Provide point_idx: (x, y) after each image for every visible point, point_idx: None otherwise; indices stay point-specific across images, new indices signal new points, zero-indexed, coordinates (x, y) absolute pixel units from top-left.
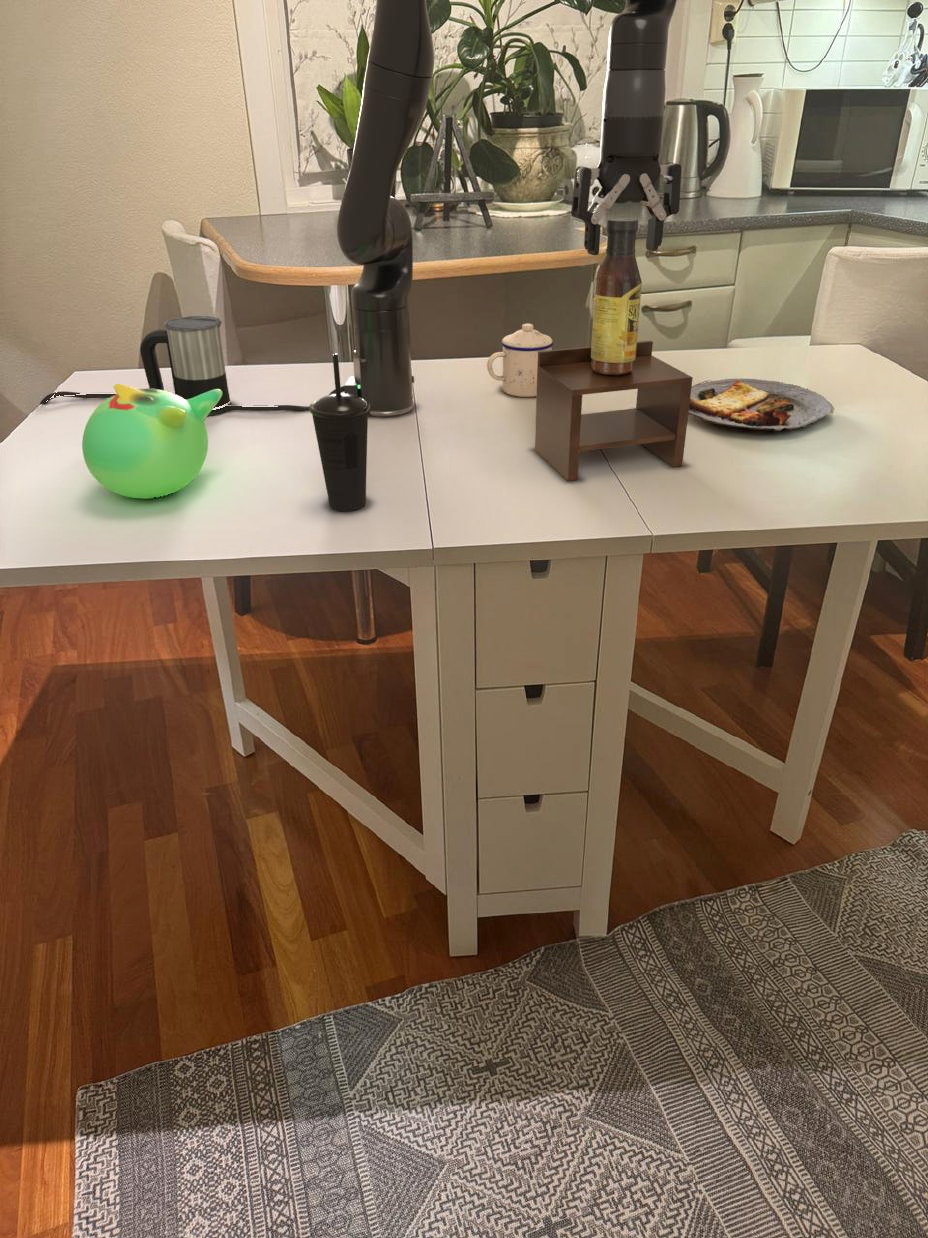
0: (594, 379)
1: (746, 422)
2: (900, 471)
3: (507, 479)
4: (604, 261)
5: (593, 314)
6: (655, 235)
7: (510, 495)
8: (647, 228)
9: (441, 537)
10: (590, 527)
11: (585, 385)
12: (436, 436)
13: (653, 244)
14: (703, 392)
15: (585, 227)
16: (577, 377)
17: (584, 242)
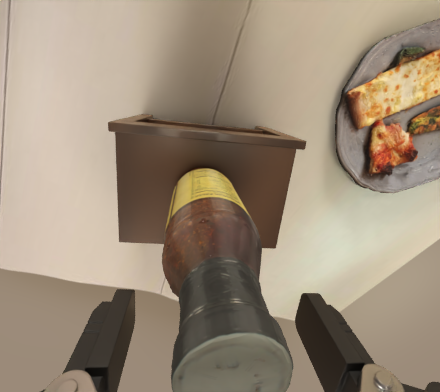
0: (164, 215)
1: (368, 154)
2: (382, 270)
3: (88, 175)
4: (176, 274)
5: (170, 209)
6: (312, 361)
7: (81, 208)
8: (330, 335)
9: (4, 257)
10: (123, 276)
11: (142, 232)
12: (35, 8)
13: (301, 336)
14: (405, 54)
15: (67, 367)
16: (146, 200)
17: (89, 319)
